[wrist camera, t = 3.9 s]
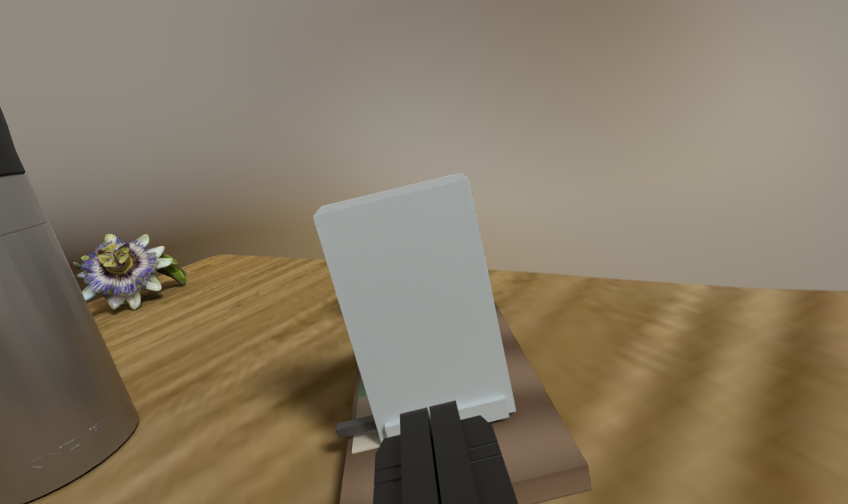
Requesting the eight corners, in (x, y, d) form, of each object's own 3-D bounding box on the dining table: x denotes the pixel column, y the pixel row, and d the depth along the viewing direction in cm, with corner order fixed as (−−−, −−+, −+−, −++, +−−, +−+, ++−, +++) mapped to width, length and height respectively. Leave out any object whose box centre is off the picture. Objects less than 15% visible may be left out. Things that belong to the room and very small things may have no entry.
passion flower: (153, 344, 63) (63, 302, 55) (132, 317, 71) (50, 276, 63) (208, 275, 66) (130, 226, 58) (182, 256, 74) (110, 210, 66)
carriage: (518, 415, 22) (470, 179, 19) (336, 459, 22) (259, 230, 19) (484, 336, 29) (446, 162, 26) (351, 368, 29) (298, 197, 26)
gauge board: (591, 489, 19) (561, 300, 16) (344, 549, 19) (280, 368, 16) (485, 293, 40) (465, 199, 38) (369, 321, 40) (342, 229, 38)
